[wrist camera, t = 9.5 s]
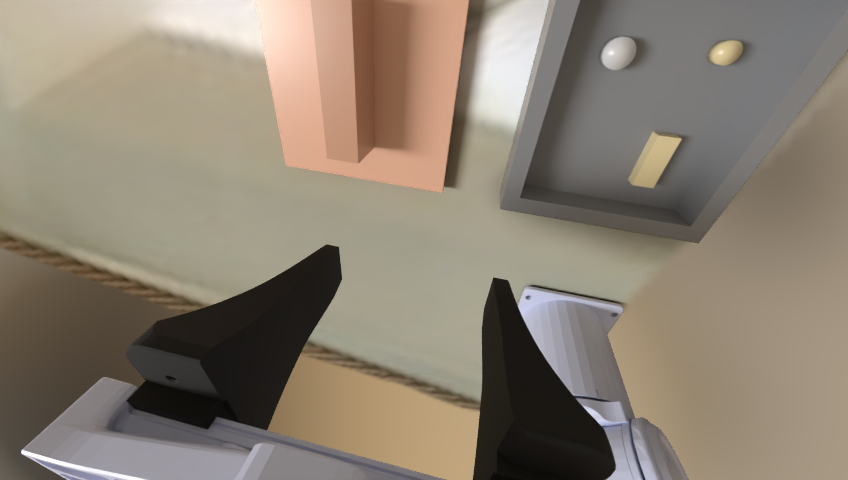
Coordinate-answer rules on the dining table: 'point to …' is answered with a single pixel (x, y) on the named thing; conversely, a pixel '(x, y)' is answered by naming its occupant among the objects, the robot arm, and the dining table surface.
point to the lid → (365, 85)
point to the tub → (663, 106)
